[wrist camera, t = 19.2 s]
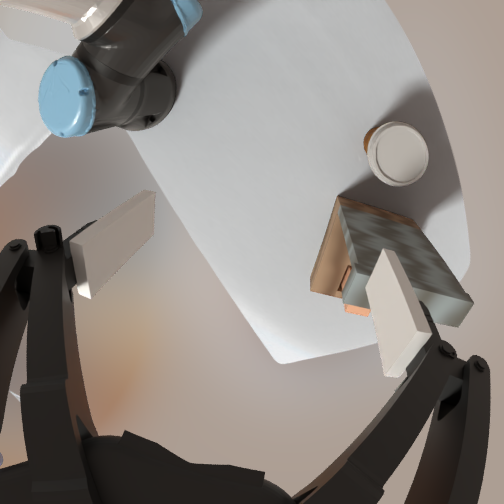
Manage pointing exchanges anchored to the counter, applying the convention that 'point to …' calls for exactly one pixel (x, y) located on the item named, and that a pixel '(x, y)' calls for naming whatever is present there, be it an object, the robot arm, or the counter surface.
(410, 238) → the socket stand
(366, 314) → the peg
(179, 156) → the counter surface
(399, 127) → the disposable coffee cup
